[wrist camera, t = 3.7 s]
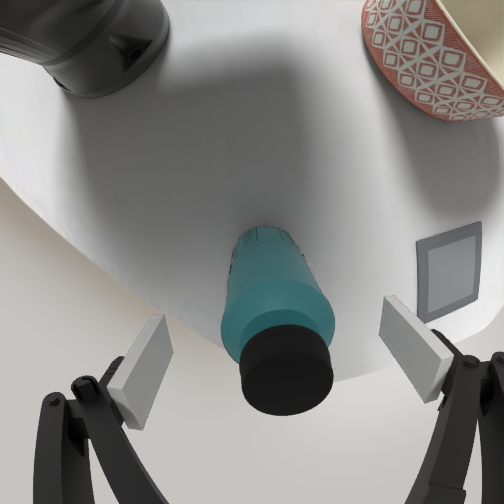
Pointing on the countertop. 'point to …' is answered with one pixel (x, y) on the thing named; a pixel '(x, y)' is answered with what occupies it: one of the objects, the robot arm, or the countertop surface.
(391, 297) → the robot arm
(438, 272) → the slate mat
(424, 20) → the planter
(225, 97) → the countertop surface
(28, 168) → the countertop surface
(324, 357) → the beverage bottle
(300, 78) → the countertop surface
